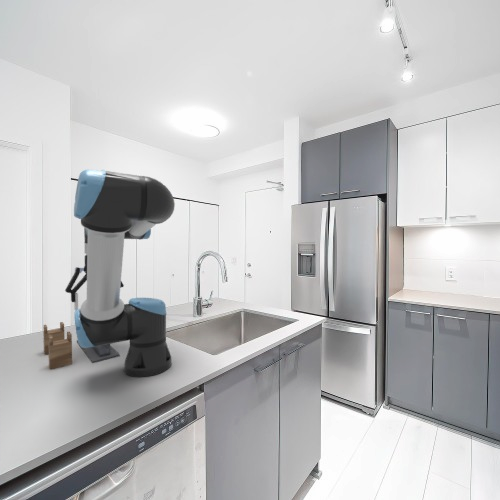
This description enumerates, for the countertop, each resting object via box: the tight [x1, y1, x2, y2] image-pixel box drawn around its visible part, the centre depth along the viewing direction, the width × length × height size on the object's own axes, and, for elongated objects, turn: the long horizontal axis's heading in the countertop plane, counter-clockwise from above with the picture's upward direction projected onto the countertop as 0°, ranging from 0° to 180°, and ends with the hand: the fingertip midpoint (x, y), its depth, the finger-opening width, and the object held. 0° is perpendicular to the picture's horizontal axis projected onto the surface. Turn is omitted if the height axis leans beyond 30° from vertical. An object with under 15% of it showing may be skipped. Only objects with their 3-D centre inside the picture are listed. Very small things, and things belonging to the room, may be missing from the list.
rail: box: [92, 344, 111, 357], centre depth 108 cm, size 24×4×5 cm, turn 43°
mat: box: [76, 339, 120, 364], centre depth 108 cm, size 28×9×1 cm, turn 42°
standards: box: [43, 321, 73, 370], centre depth 99 cm, size 20×6×10 cm, turn 42°
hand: (96, 307), depth 107 cm, fingers open, 13 cm apart
